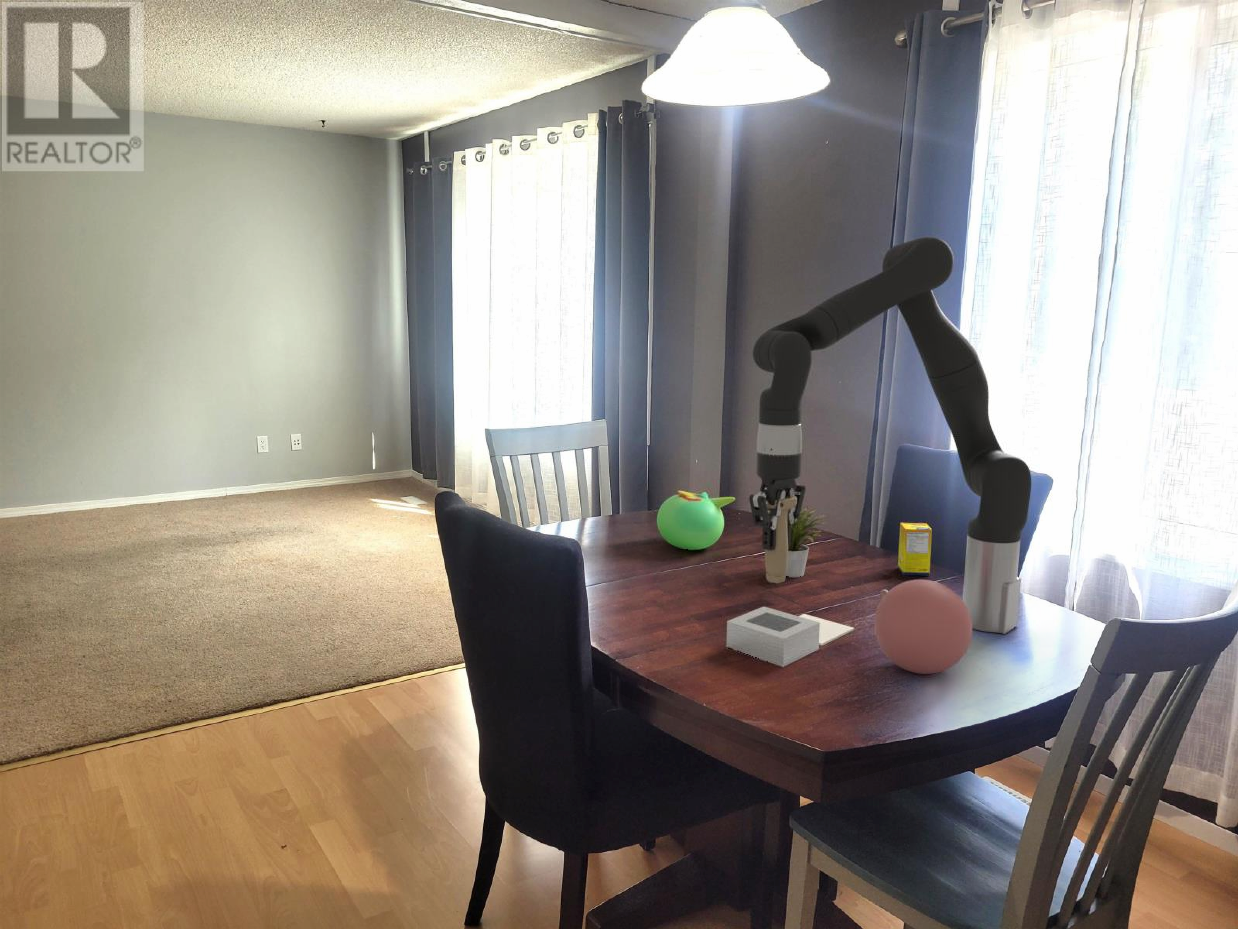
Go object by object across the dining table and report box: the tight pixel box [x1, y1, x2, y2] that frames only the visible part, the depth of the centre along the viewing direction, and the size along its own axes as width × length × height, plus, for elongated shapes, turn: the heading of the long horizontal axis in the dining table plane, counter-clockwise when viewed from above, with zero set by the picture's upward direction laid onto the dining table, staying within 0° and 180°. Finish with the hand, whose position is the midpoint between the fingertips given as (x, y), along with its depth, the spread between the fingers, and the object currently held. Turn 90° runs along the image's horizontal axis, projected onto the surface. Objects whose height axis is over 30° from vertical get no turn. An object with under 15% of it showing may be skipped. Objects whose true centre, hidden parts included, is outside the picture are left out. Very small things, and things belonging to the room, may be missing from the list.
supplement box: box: [897, 522, 933, 577], centre depth 203 cm, size 6×6×11 cm
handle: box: [764, 496, 797, 584], centre depth 155 cm, size 5×6×15 cm
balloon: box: [873, 579, 973, 675], centre depth 151 cm, size 15×20×15 cm
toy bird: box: [656, 490, 736, 551], centre depth 223 cm, size 18×17×15 cm
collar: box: [726, 606, 820, 668], centre depth 158 cm, size 12×11×5 cm
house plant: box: [785, 505, 830, 578], centre depth 200 cm, size 14×14×16 cm
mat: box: [798, 613, 855, 646], centre depth 168 cm, size 11×11×1 cm
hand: (776, 546), depth 155 cm, fingers closed on handle, 4 cm apart
